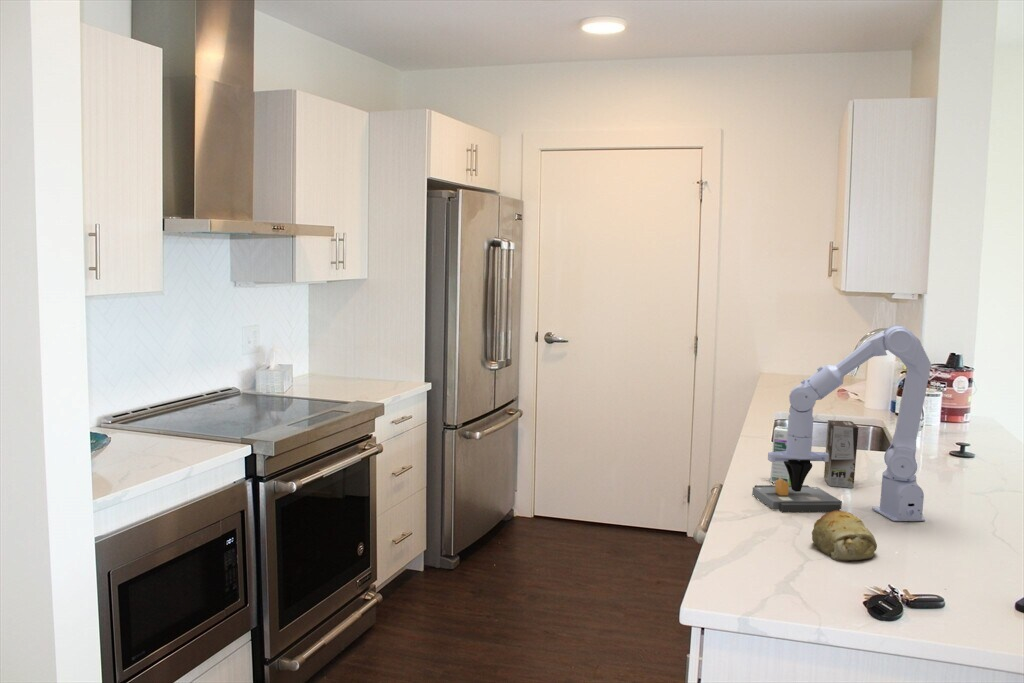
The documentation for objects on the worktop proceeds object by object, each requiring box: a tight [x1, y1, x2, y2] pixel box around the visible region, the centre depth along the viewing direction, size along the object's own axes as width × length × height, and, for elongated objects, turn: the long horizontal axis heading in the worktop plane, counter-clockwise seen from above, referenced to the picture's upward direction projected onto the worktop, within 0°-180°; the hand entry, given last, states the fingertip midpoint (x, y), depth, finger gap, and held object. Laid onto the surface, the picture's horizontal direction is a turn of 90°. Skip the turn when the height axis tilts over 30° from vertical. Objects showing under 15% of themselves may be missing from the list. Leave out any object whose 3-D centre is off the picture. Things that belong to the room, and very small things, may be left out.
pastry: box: [811, 510, 878, 562], centre depth 173 cm, size 14×12×8 cm
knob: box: [774, 478, 789, 495], centre depth 206 cm, size 3×2×3 cm, turn 7°
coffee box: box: [823, 419, 860, 489], centre depth 226 cm, size 9×6×16 cm
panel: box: [751, 486, 843, 511], centre depth 207 cm, size 12×17×2 cm
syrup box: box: [769, 425, 791, 485], centre depth 225 cm, size 6×6×14 cm
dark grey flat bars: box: [754, 484, 841, 513], centre depth 207 cm, size 16×14×2 cm
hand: (796, 490), depth 207 cm, fingers closed
